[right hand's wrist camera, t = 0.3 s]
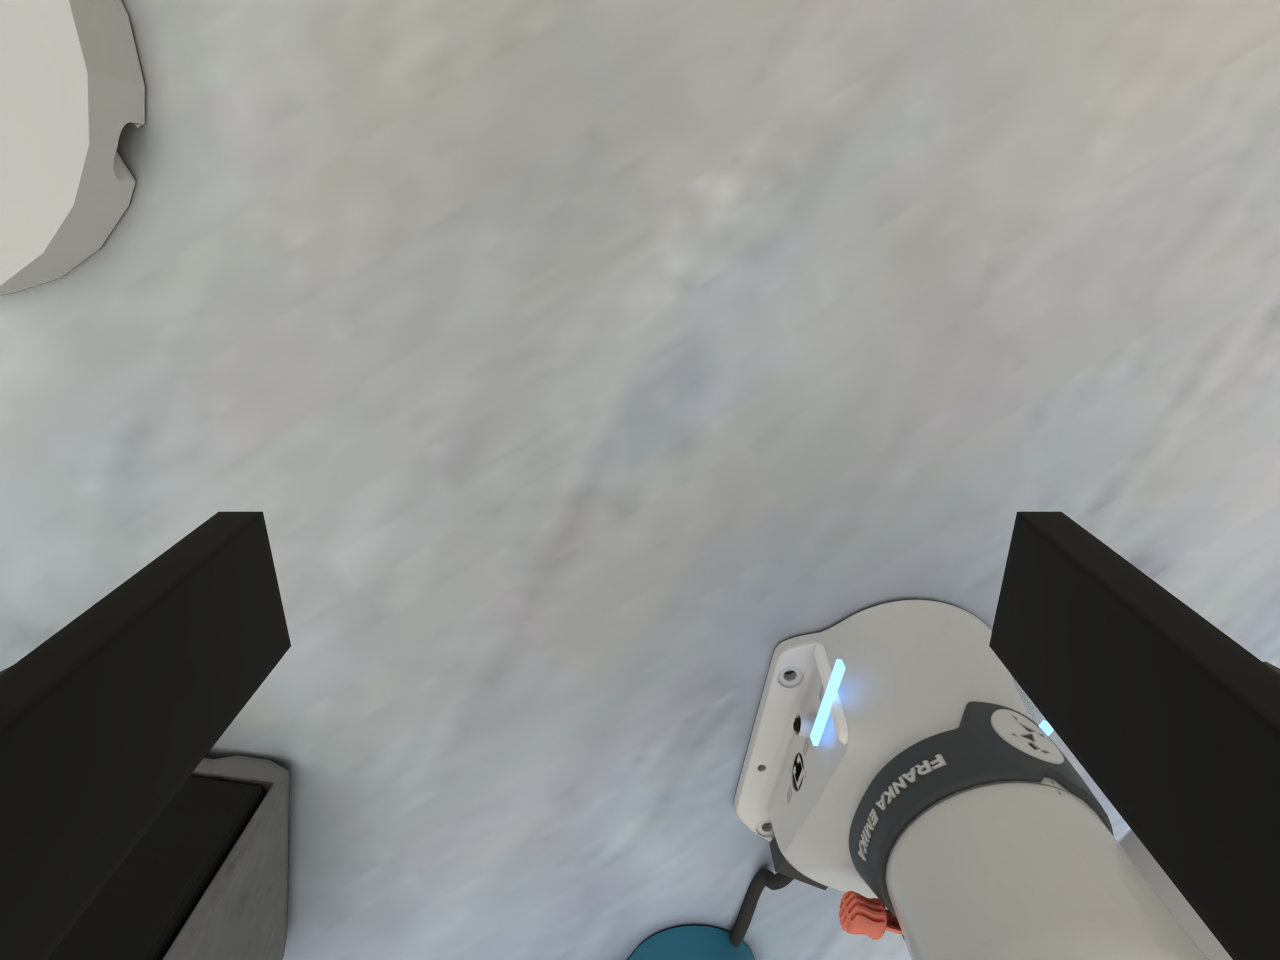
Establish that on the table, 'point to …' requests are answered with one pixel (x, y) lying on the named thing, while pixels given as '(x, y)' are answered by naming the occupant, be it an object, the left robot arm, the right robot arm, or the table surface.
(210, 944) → the grey and black block
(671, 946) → the camera mount
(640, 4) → the table surface
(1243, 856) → the right robot arm
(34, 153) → the ashtray
